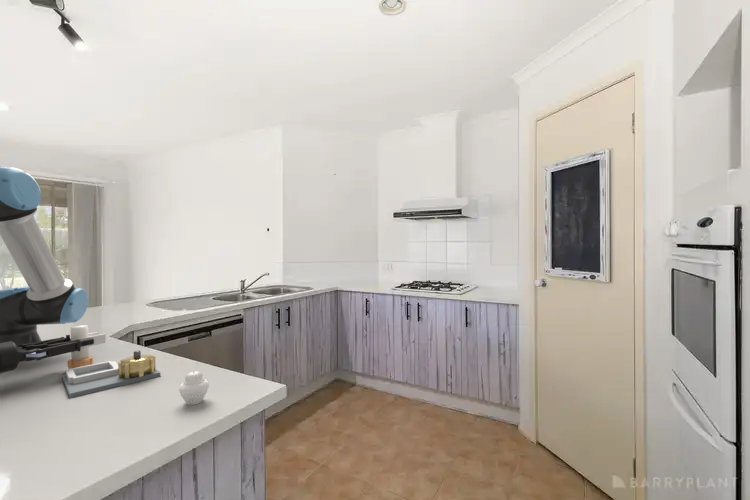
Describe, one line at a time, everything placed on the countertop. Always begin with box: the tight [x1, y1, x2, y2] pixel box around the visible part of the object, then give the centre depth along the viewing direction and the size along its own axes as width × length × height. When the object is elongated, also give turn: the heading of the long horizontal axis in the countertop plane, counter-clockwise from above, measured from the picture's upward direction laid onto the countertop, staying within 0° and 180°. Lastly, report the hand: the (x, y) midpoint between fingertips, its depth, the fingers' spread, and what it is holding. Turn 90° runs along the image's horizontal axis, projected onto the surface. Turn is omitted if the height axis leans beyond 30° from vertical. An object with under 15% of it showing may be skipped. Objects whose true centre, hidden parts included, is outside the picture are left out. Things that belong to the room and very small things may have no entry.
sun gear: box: [117, 350, 157, 379], centre depth 97 cm, size 8×8×6 cm
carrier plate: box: [62, 360, 161, 399], centre depth 97 cm, size 18×19×2 cm
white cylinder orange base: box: [67, 324, 94, 370], centre depth 105 cm, size 6×6×12 cm
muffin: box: [178, 371, 210, 406], centre depth 80 cm, size 6×6×7 cm
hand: (100, 337), depth 109 cm, fingers closed on white cylinder orange base, 4 cm apart
